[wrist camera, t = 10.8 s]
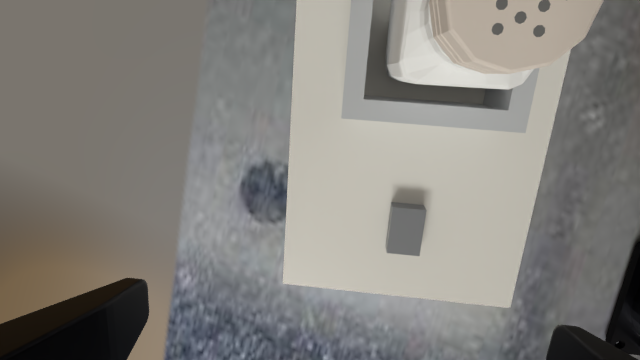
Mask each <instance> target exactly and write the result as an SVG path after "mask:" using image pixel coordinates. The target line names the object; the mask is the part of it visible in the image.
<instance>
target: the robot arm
mask: <svg viewBox="0 0 640 360" xmlns="http://www.w3.org/2000/svg"><path fill="white" fill-rule="evenodd" d="M148 316H149V303H148V287H147V283H146V281H145V280H142V279H135V278H125V279H122V280H120V281H117V282H114V283H112V284H109V285H106V286H103V287H100V288H98V289H95V290H92V291H89V292H87V293H84V294H82V295H78V296H76V297H73V298H70V299H68V300H65V301H62V302H59V303H57V304H54V305H51V306H49V307H46V308H43V309H40V310H38V311H35V312H32V313H29V314H27V315H24V316H21V317H18V318H16V319H13V320H10V321H7V322H4V323H2V324H0V360H127V358H128V356H129V354H130V352H131V350H132V349H133V347H134V345H135V343H136V341H137V339H138V337H139V335H140V334H141V331H142V330H143V328H144V326H145V324H146V322H147V319H148ZM618 341H619V343H617V344H616V342H618ZM629 354H634V355H640V241H639V242H638V243H637V245H636V246H635V249H634V252H633V255H632V259H631V262H630V265H629V268H628V271H627V274H626V277H625V280H624V283H623V287H622V290H621V293H620V296H619V299H618V302H617V305H616V308H615V311H614V315H613V318H612V321H611V324H610V327H609V330H608V333H607V336H606V341H604V340H602V339H600V338H598V337H596V336H594V335H593V334H591V333H589V332H587V331H585V330H584V329H582V328H580V327H577V326H569V325H558V326H556V327H555V329H554V331H553V334H552V338H551V341H550V345H549V348H548V352H547V356H546V360H638V359H636V358H634V357H632V356H631V355H629Z"/></svg>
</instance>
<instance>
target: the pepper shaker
mask: <svg viewBox="0 0 640 360" xmlns="http://www.w3.org/2000/svg"><path fill="white" fill-rule="evenodd" d="M602 3H603V0H391V5H390V15H389V25H388V35H387V46H386V56H385V69H386V72H387V76H389V77H391V78H393V79H395V80H397V81H402V82H407V83H413V84H423V85H438V86H454V87H471V88H488V89H507V90H508V89H511V88H514V87H516V86H519V85H521V84H523V83H524V81H525V80H526V79H527V78H528V76H529V75H530V74H531V72H532V71H533V70H534V69H536V68H541V67H546V66H550V65H551V64H552V63H554V62H555V61H556V60H557V59H559V58H560V57H561V56H562V55H564V54H565V53H566V52H568V51H569V50H570V49H571V48H573V47H574V46H575V45H576V44H578V43H579V42H580V41H582V40H583V39H584V38H585V37H586V35H587V33H588V31H589V29H590V27H591V25H592V23H593V21H594V19H595V17H596V15H597V13H598V11H599V9H600V7H601V5H602Z"/></svg>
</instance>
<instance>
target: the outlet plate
mask: <svg viewBox="0 0 640 360" xmlns="http://www.w3.org/2000/svg"><path fill="white" fill-rule="evenodd" d="M390 5H391V0H297V6H296V27H295V47H294V67H293V88H292V108H291V128H290V149H289V169H288V189H287V210H286V230H285V251H284V271H283V284H291V285H300V286H310V287H319V288H328V289H338V290H347V291H356V292H366V293H375V294H384V295H394V296H403V297H412V298H422V299H431V300H440V301H449V302H459V303H468V304H477V305H487V306H496V307H505V308H510V306H511V302H512V297H513V293H514V289H515V285H516V280H517V276H518V272H519V268H520V263H521V259H522V255H523V251H524V246H525V242H526V238H527V234H528V229H529V225H530V221H531V217H532V212H533V208H534V204H535V200H536V195H537V191H538V187H539V183H540V178H541V174H542V170H543V166H544V161H545V157H546V153H547V149H548V144H549V140H550V136H551V132H552V127H553V123H554V119H555V115H556V110H557V106H558V102H559V98H560V93H561V89H562V85H563V81H564V76H565V72H566V68H567V64H568V59H569V55H570V51H571V49H570V50H569V51H568V52H566V53H565V54H564V55H562V56H561V57H560V58H559V59H557V60H556V61H555V62H554V63H552V64H551V65H550V66H546V67H541V68H536V69H534V70H533V71H532V72H531V74H530V75H529V76H528V78H527V79H526V80H525V81H524V83H523V84H521V85H519V86H516V87H514V88H511V89H508V90H507V89H488V88H471V87H454V86H438V85H423V84H413V83H407V82H402V81H397V80H395V79H393V78H391V77H389V76H387V72H386V69H385V56H386V46H387V35H388V25H389V15H390Z"/></svg>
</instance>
